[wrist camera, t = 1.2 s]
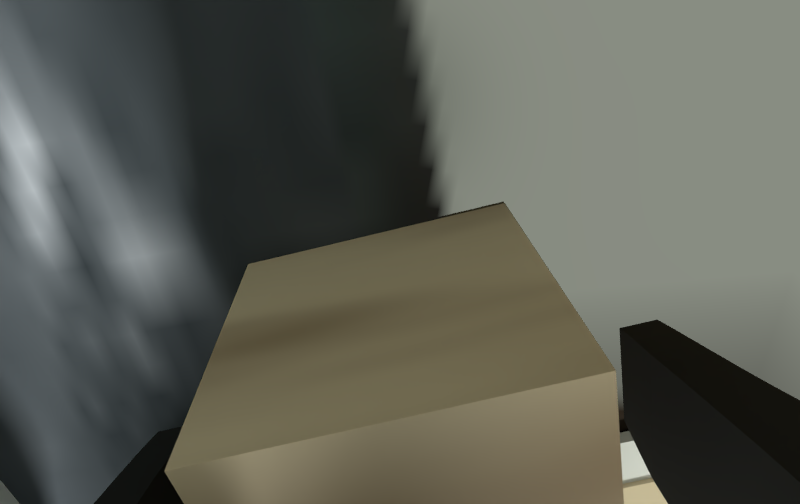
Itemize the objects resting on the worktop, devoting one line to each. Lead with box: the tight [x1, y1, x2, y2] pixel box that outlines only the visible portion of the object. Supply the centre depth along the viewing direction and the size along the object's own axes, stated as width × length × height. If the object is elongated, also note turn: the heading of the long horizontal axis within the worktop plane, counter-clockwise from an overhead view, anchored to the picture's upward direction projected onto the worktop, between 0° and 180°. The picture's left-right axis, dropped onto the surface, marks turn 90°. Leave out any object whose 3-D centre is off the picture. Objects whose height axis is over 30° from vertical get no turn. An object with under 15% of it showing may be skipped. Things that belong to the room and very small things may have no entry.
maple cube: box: [164, 202, 624, 504], centre depth 9 cm, size 5×5×5 cm
